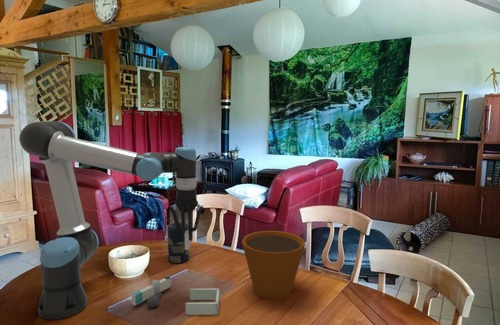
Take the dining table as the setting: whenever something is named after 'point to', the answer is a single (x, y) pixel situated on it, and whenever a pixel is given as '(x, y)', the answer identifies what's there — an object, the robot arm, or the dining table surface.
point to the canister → (176, 245)
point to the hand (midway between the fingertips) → (187, 248)
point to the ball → (153, 301)
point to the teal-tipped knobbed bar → (151, 290)
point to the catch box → (203, 307)
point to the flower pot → (273, 261)
